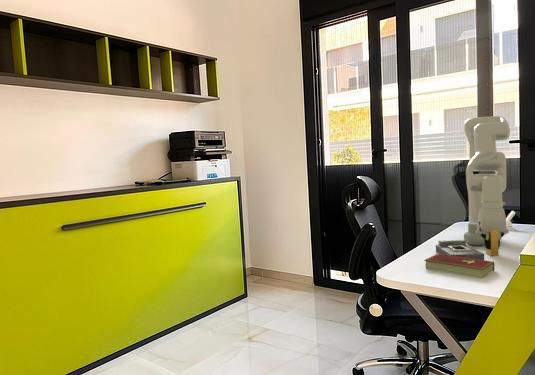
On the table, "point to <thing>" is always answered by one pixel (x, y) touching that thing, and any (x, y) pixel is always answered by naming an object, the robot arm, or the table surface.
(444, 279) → the table surface
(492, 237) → the brass peg in socket
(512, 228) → the hook
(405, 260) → the table surface
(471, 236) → the air freshener
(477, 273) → the hardcover book
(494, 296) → the table surface
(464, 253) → the grey box with slot
